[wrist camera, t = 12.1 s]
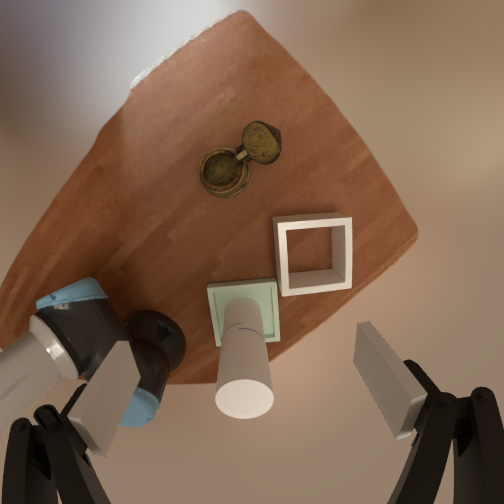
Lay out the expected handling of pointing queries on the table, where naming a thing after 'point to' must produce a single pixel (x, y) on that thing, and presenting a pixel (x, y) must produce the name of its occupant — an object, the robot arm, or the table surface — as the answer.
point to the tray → (254, 289)
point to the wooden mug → (239, 160)
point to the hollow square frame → (316, 279)
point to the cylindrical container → (243, 362)
